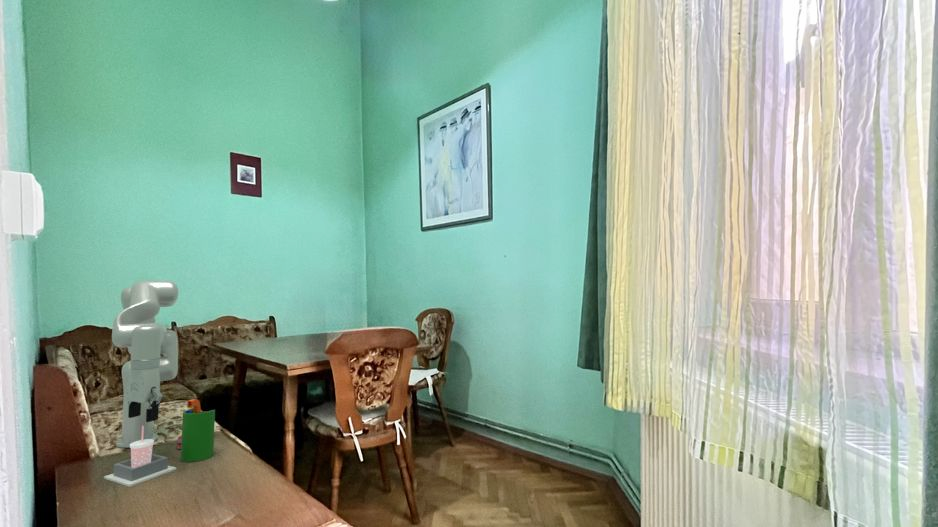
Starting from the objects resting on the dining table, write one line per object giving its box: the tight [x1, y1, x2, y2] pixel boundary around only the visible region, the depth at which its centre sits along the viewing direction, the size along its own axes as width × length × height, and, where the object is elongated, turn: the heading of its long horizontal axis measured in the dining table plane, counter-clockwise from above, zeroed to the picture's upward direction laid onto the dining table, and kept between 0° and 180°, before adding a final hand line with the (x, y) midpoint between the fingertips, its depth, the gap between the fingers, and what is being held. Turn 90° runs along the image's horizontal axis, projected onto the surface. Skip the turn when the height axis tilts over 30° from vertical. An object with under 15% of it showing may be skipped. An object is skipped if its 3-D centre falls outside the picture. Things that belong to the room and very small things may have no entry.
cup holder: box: [103, 453, 177, 488], centre depth 131 cm, size 14×13×4 cm
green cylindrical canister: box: [180, 398, 216, 463], centre depth 145 cm, size 10×9×20 cm
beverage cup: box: [129, 426, 155, 468], centre depth 131 cm, size 6×6×14 cm
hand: (143, 418), depth 132 cm, fingers open, 9 cm apart
